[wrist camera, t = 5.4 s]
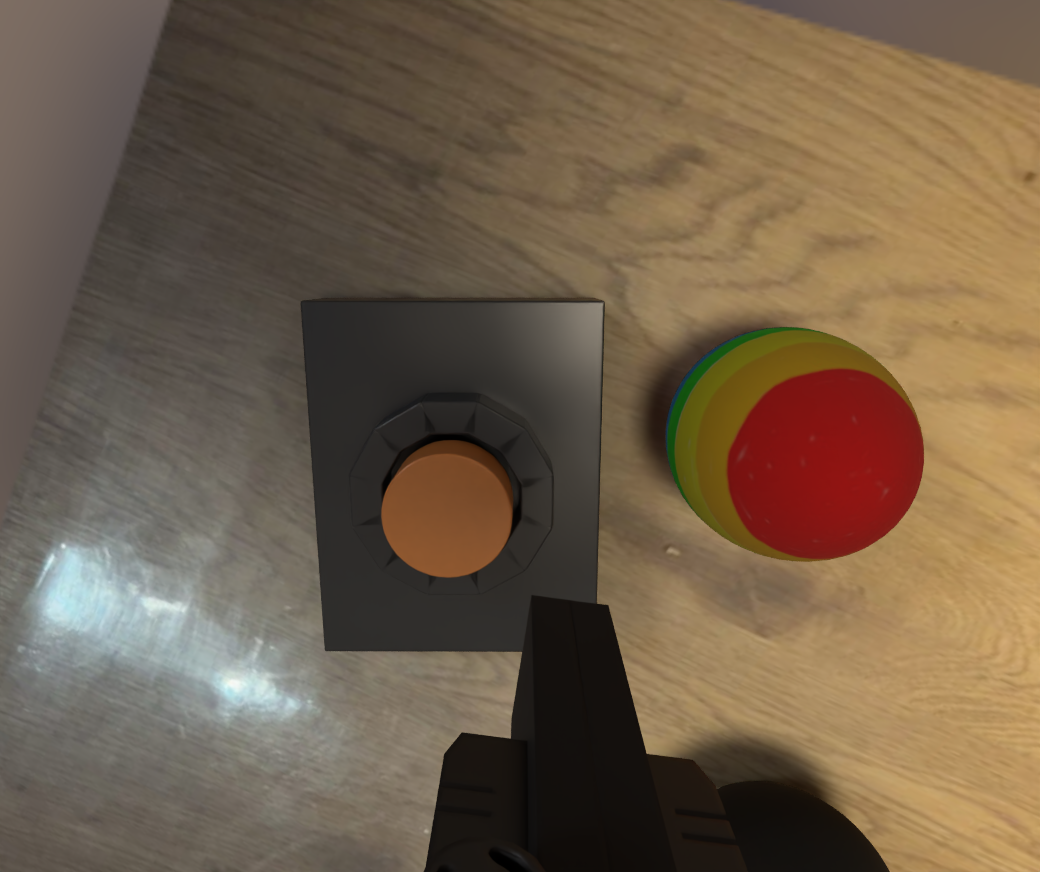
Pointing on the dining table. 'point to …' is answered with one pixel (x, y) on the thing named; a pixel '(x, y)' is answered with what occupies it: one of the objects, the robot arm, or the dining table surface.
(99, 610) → the dining table surface
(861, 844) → the decorative ball
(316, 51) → the dining table surface
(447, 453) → the orange button
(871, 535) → the decorative egg
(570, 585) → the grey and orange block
